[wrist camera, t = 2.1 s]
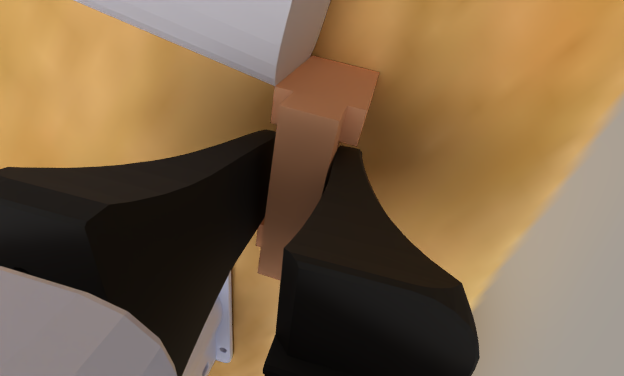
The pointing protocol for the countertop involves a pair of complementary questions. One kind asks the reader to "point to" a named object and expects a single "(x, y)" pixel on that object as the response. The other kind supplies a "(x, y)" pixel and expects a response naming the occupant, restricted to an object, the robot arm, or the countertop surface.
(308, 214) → the pink i-beam
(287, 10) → the charger
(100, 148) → the countertop surface
